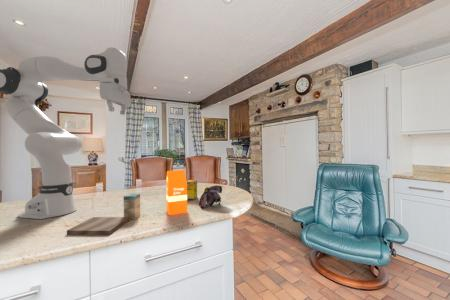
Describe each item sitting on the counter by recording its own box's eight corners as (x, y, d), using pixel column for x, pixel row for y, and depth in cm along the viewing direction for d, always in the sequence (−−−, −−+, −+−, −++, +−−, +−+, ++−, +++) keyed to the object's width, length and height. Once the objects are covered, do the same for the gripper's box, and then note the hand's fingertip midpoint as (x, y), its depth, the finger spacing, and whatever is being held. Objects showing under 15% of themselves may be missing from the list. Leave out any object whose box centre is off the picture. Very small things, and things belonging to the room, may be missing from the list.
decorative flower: (198, 184, 116) (223, 177, 113) (206, 202, 119) (230, 195, 116) (191, 198, 102) (219, 190, 99) (200, 217, 105) (227, 210, 102)
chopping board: (66, 234, 75) (66, 230, 75) (93, 220, 89) (93, 217, 89) (109, 234, 74) (109, 230, 74) (129, 220, 88) (129, 217, 88)
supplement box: (194, 200, 120) (193, 181, 120) (184, 199, 121) (184, 181, 121) (197, 197, 126) (197, 179, 126) (188, 197, 127) (188, 179, 127)
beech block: (123, 219, 90) (123, 196, 90) (129, 215, 95) (129, 193, 95) (135, 219, 90) (134, 196, 90) (140, 215, 95) (139, 193, 95)
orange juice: (166, 210, 102) (165, 170, 101) (184, 208, 105) (183, 169, 105) (168, 215, 94) (167, 171, 94) (187, 212, 98) (186, 170, 98)
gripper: (122, 90, 108) (122, 116, 109) (96, 76, 88) (96, 109, 88) (133, 89, 108) (134, 116, 108) (110, 76, 88) (111, 109, 88)
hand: (117, 113), depth 98 cm, fingers open, 8 cm apart
